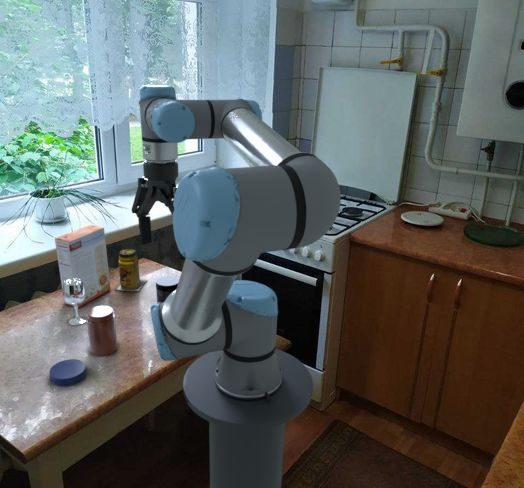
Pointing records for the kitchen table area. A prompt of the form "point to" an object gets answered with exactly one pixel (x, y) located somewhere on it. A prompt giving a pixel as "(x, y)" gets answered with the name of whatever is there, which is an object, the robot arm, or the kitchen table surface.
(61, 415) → the kitchen table surface
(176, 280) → the supplement container
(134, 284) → the condiment
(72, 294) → the wineglass
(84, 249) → the cracker box
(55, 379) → the lid
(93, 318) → the jar
